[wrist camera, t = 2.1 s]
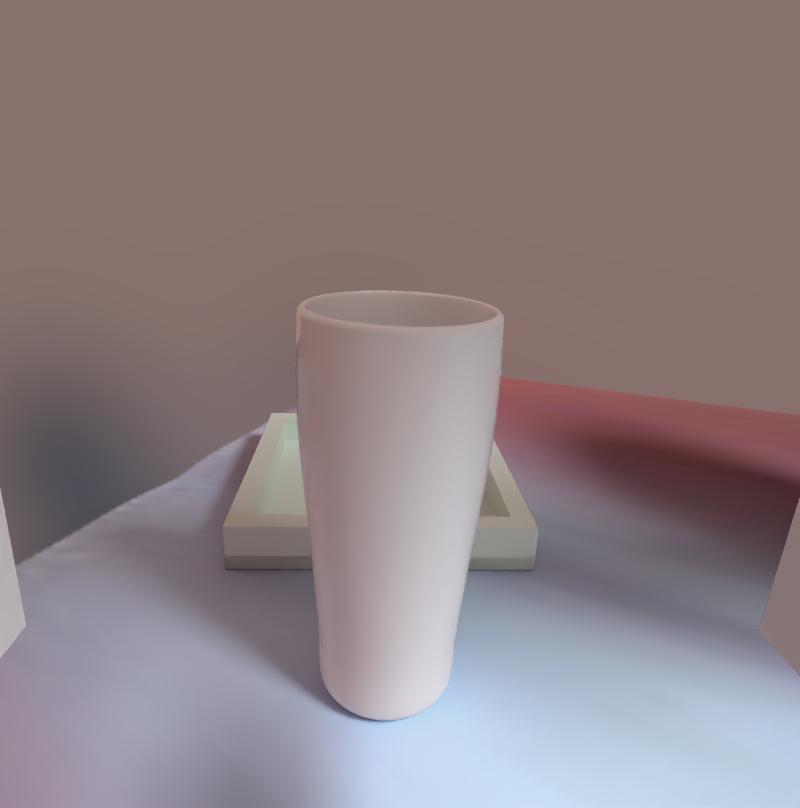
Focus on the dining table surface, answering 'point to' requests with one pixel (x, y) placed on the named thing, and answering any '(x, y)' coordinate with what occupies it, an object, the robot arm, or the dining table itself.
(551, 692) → the dining table surface
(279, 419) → the tray
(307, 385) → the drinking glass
